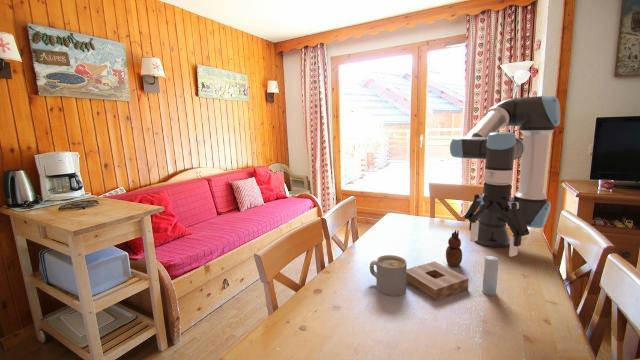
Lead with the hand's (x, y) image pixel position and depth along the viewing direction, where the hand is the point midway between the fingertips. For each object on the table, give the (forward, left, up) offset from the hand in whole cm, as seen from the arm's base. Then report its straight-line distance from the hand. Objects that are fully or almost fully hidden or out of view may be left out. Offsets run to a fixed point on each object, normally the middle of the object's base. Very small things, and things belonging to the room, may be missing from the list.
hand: (492, 247), depth 100 cm
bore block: (+12, -12, -16) cm, 23 cm away
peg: (0, 0, -16) cm, 16 cm away
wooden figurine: (-6, -20, -16) cm, 26 cm away
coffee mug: (+27, -19, -16) cm, 37 cm away
